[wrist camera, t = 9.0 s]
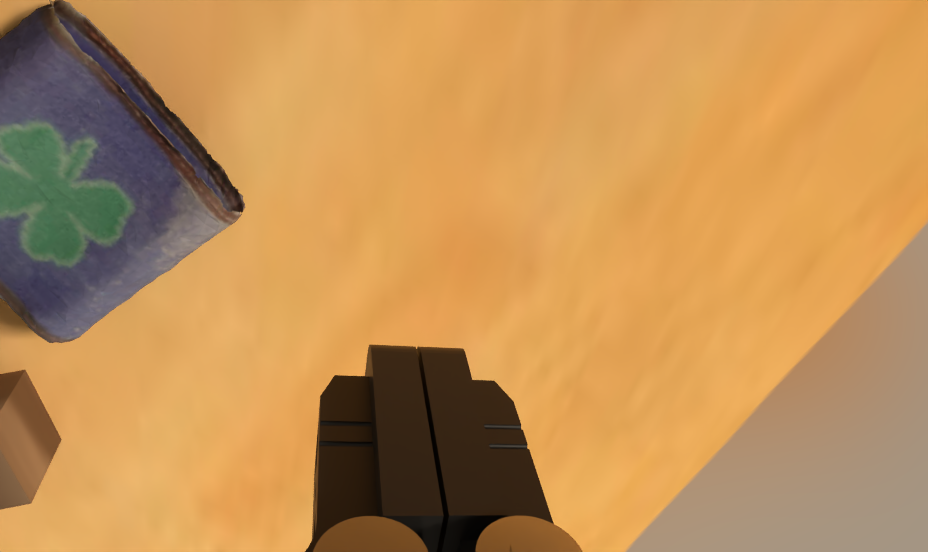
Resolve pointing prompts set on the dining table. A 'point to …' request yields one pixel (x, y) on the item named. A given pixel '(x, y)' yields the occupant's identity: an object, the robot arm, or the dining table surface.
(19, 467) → the walnut cube
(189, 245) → the flask
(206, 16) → the dining table surface
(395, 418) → the robot arm
